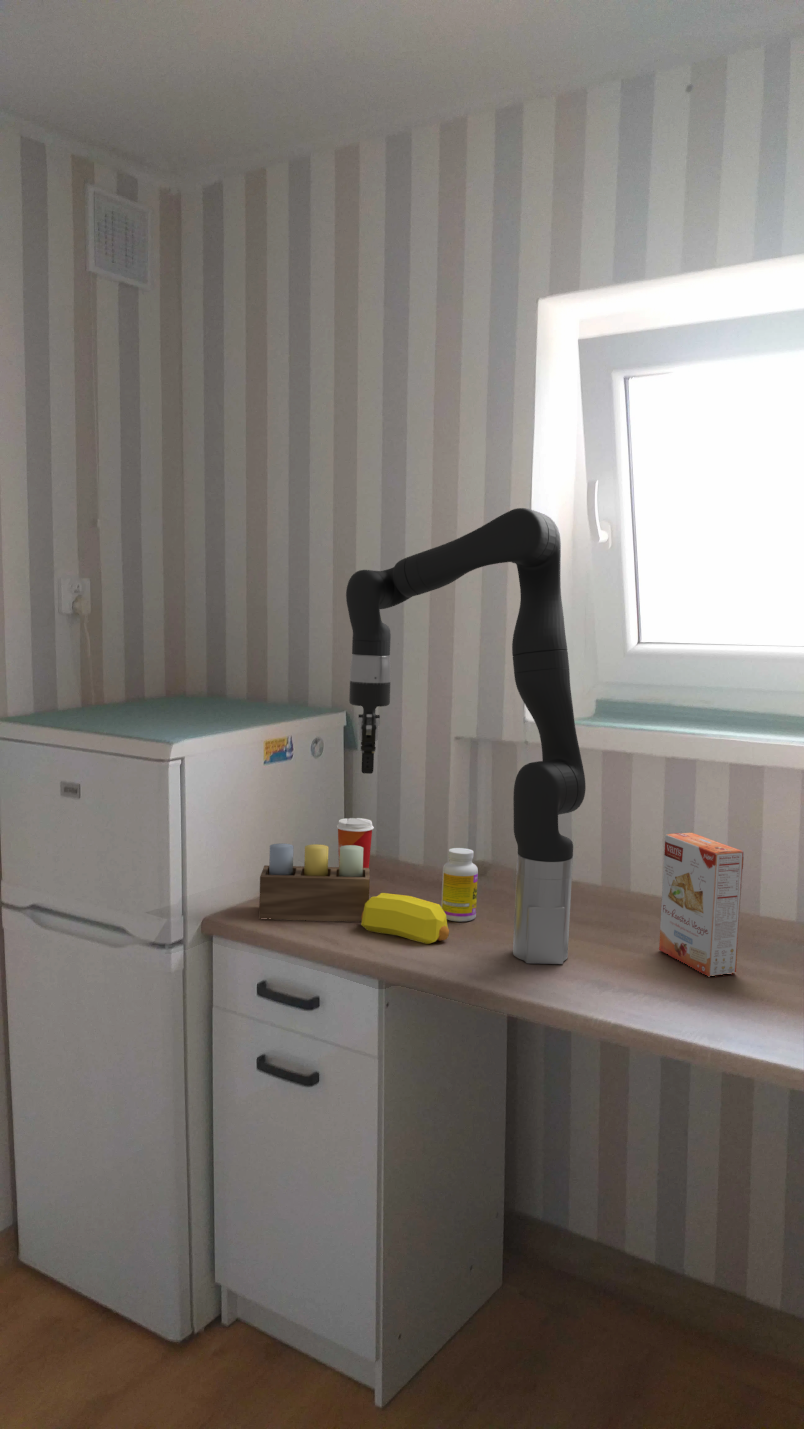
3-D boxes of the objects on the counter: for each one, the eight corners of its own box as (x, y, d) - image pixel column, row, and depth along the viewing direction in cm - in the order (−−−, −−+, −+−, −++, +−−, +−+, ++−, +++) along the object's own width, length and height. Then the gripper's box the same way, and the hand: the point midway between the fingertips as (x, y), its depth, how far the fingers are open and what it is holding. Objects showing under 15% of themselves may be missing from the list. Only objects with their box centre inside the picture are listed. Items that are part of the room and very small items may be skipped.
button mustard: (327, 881, 195) (328, 850, 194) (303, 881, 194) (304, 849, 194) (328, 875, 199) (328, 844, 198) (304, 875, 199) (305, 844, 198)
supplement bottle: (476, 923, 195) (479, 855, 194) (441, 922, 195) (443, 854, 194) (475, 913, 202) (477, 847, 200) (440, 911, 202) (443, 845, 200)
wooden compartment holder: (368, 921, 194) (369, 879, 193) (259, 919, 193) (260, 876, 192) (368, 908, 202) (369, 868, 201) (263, 906, 201) (264, 865, 200)
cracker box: (656, 951, 182) (663, 832, 180) (685, 948, 185) (692, 831, 182) (706, 978, 169) (714, 851, 167) (737, 975, 172) (746, 849, 169)
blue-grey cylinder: (291, 881, 194) (292, 849, 194) (268, 880, 194) (268, 848, 194) (293, 875, 199) (294, 843, 198) (270, 874, 199) (270, 843, 198)
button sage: (362, 882, 195) (363, 850, 194) (338, 882, 195) (339, 850, 194) (362, 876, 199) (363, 845, 199) (339, 876, 199) (340, 844, 198)
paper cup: (330, 883, 219) (332, 817, 218) (366, 882, 221) (368, 816, 220) (339, 894, 212) (341, 825, 210) (376, 892, 214) (378, 824, 213)
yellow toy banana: (437, 950, 180) (458, 939, 186) (438, 912, 179) (460, 902, 186) (350, 930, 189) (373, 920, 196) (351, 893, 188) (374, 885, 195)
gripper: (391, 682, 188) (388, 779, 189) (389, 677, 201) (386, 767, 203) (349, 681, 187) (346, 777, 189) (350, 676, 201) (347, 766, 203)
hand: (367, 772), depth 196 cm, fingers closed
